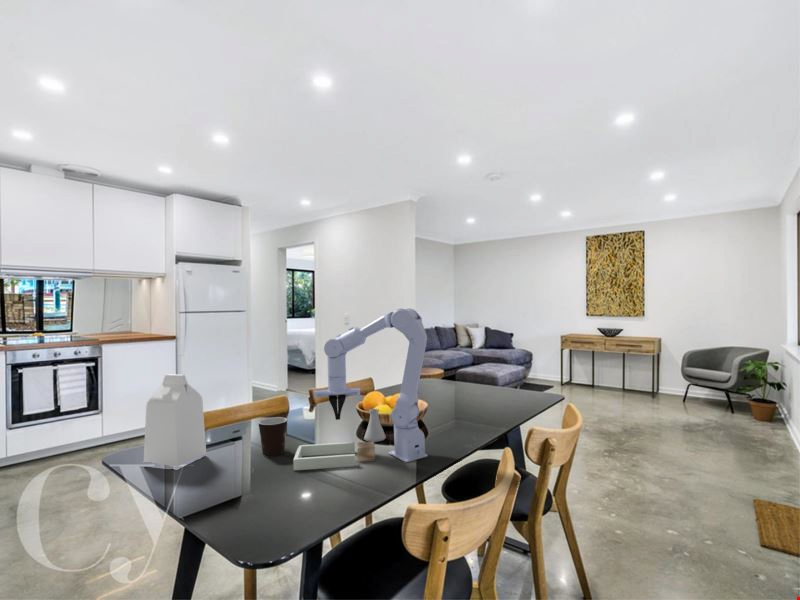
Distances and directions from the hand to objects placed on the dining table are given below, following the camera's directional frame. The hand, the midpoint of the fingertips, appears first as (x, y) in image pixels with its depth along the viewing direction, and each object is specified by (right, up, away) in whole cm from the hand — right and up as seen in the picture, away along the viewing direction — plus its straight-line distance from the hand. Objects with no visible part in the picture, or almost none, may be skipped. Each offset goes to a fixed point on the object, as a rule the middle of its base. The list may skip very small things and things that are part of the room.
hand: (337, 418), depth 130 cm
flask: (+11, -10, +8) cm, 17 cm away
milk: (-47, -11, -8) cm, 49 cm away
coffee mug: (-19, -10, -1) cm, 22 cm away
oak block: (+10, -9, -9) cm, 16 cm away
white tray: (-1, -9, -10) cm, 14 cm away
